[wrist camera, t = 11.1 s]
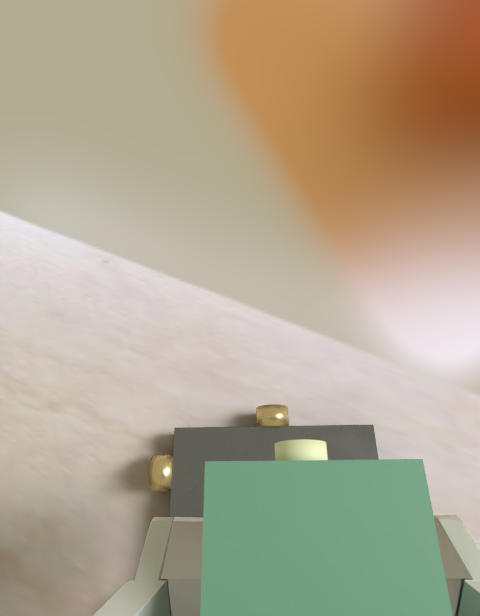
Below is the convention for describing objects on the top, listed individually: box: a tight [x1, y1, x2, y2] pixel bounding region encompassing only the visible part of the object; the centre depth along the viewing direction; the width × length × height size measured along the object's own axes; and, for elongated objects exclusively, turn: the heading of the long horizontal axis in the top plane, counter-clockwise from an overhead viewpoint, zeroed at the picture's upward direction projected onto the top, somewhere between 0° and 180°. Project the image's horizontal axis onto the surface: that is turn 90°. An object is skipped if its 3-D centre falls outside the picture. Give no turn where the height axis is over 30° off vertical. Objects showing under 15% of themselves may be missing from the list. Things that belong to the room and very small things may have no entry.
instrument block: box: [200, 439, 453, 616], centre depth 10 cm, size 4×5×8 cm
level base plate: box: [149, 405, 378, 517], centre depth 23 cm, size 13×13×2 cm
